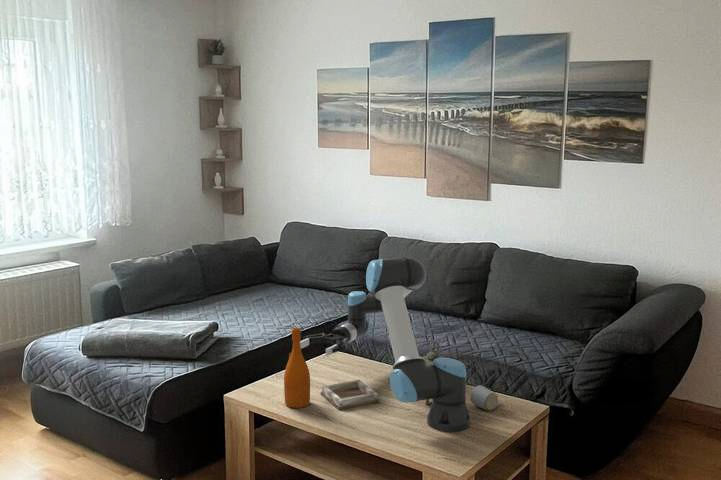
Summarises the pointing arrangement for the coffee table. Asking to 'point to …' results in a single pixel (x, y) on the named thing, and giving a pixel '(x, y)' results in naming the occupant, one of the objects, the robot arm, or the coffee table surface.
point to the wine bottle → (296, 376)
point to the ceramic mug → (484, 398)
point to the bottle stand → (349, 394)
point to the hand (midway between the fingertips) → (312, 349)
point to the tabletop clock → (431, 358)
